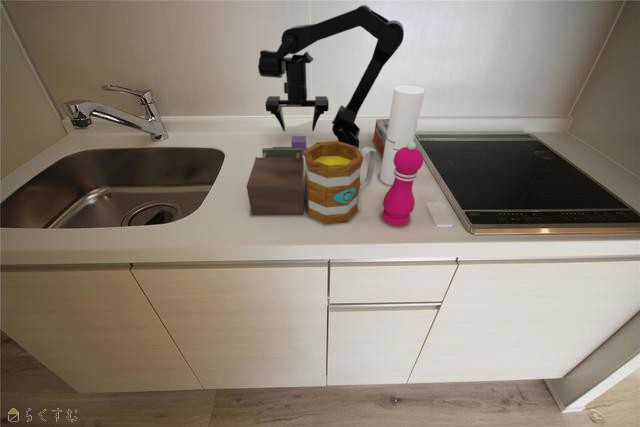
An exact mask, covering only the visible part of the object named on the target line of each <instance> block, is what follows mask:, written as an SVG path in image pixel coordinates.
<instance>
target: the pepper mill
mask: <svg viewBox="0 0 640 427" xmlns="http://www.w3.org/2000/svg"><path fill="white" fill-rule="evenodd" d="M393 162H394V165H395V168H394V172H393V175H394V176H395V179H394V183H393V185H390V187H389V189H388V190H387V191H386V193H385V195H384V197H383V199H382V207H383V210H382V211H383V212H382V219H383V221H384V222H385V223H387V224H388V225H390V226H395V227H401V226H404V225H406V224H408V222H409V220H410V216H411V213H412V212H413V211H414V209H415V205H416V204H415V196H414V193H413V185H414V181H415V180H416V179H417V177H418V174H419V170H420V169H421V168H422V167H423V165H424V155H423V153H422V151H420V150H419V149H418V148H417V143H416V142H415V141H413V142H412V141H411V142H409V143H408V144H407V147H404V148H401V149H399V150H398V151H397V152H396V154H395V156H394V161H393Z"/></svg>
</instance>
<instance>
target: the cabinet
mask: <svg viewBox="0 0 640 427" xmlns="http://www.w3.org/2000/svg"><path fill="white" fill-rule="evenodd" d="M246 191H247V196H248V202H249V207H250V214H251V216H304V203H305V202H304V200H305V157H303V158H263V157H255V159H254V162H253V165H252V168H251V171H250V175H249V177H248V180H247V183H246Z"/></svg>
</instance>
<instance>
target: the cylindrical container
mask: <svg viewBox="0 0 640 427" xmlns="http://www.w3.org/2000/svg"><path fill="white" fill-rule="evenodd" d="M425 91H426V90H425V89H424V88H423V87H420V86H417V85H410V84H403V85H396V86H394V88H393V94H392V100H391V104H390V113H389V118H388V119H389V124H388V130H387V136H386V142H385V149H384V155H383V156H382V162H381V168H380V173H379V179H380V181H381V182H382V183H384V184H386V185H390V186H392V185H393V183H394V179H395V176H394V175H393V172H394V168H395V165H394V162H393V161H394V156H395V154H396V152H397V151H398V150H399V149H401V148H404V147H407V144H408V143H409V142H411V141H412V142H415V136H416V132H417V128H418V122H419V119H420V113H421V110H422V105H423V100H424V98H425Z"/></svg>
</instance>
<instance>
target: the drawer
mask: <svg viewBox="0 0 640 427" xmlns="http://www.w3.org/2000/svg"><path fill="white" fill-rule="evenodd" d="M261 152H262V158H304V157H303V156H304V155H303V152H302V148H296V147H292V146H272V147H262V148H261Z"/></svg>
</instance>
